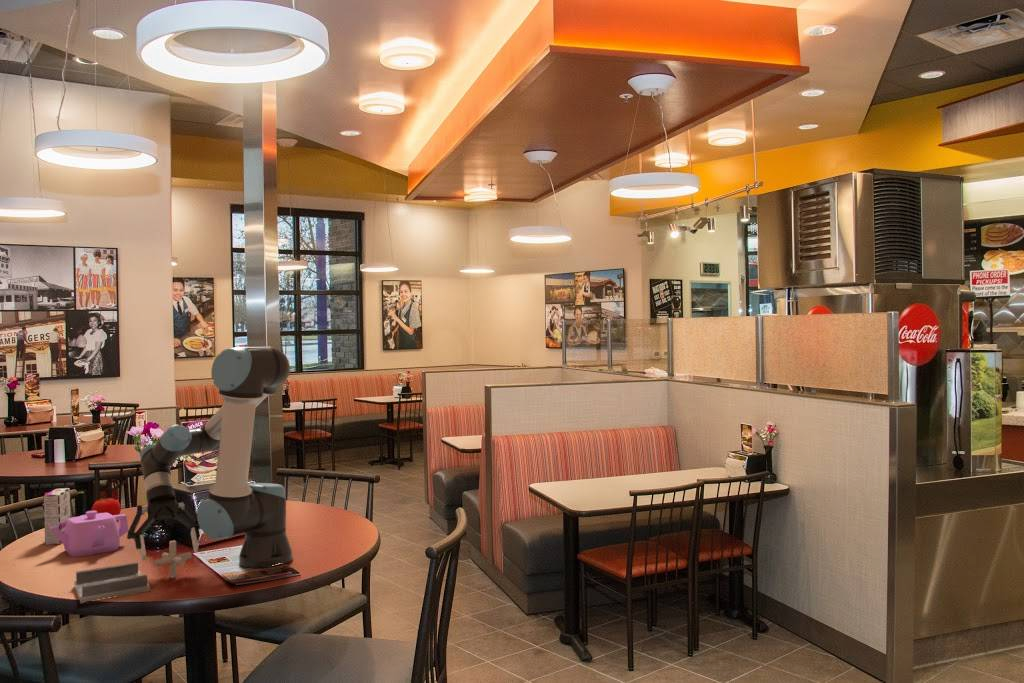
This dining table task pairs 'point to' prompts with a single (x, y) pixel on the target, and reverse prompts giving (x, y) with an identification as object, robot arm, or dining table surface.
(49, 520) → the candy bar box
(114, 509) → the tomato
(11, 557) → the dining table surface
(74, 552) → the teakettle
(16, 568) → the dining table surface
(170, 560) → the pipe connector
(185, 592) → the dining table surface
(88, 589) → the cradle plate
